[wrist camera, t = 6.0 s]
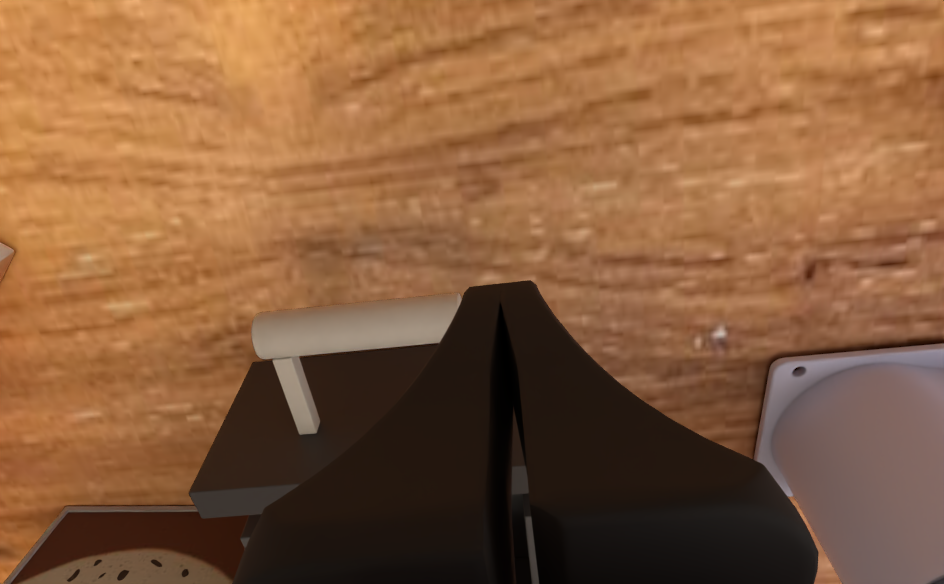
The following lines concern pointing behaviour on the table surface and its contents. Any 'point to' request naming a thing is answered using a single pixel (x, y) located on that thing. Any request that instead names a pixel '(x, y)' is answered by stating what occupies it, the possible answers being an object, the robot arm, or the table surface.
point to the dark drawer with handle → (329, 405)
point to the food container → (134, 547)
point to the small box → (5, 258)
